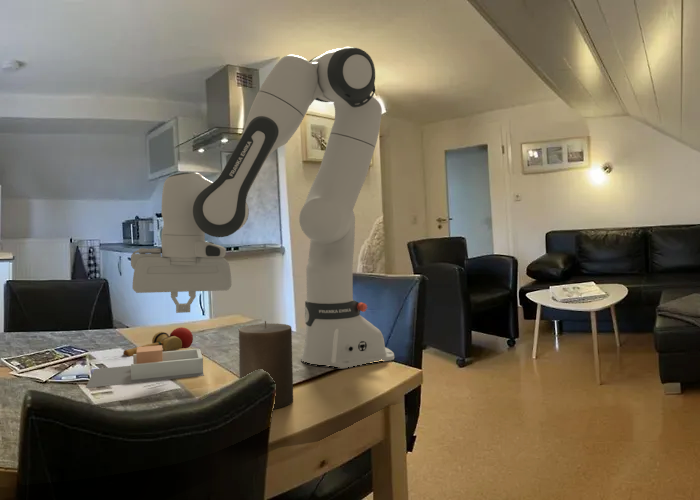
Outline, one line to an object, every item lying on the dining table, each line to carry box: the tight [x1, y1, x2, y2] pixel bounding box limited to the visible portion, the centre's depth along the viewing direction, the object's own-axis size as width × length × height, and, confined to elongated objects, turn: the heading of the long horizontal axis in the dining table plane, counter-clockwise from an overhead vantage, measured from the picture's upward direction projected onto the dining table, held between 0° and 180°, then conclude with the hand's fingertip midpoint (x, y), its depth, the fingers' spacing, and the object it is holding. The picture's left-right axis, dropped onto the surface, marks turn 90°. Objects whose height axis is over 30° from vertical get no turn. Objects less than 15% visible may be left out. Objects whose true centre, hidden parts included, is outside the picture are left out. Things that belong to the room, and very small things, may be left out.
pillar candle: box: [237, 320, 294, 410], centre depth 95 cm, size 10×10×15 cm
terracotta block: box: [136, 345, 164, 364], centre depth 110 cm, size 5×5×5 cm
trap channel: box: [85, 348, 205, 389], centre depth 110 cm, size 22×14×4 cm, turn 110°
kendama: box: [122, 326, 194, 357], centre depth 131 cm, size 8×6×18 cm
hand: (183, 312), depth 112 cm, fingers closed
